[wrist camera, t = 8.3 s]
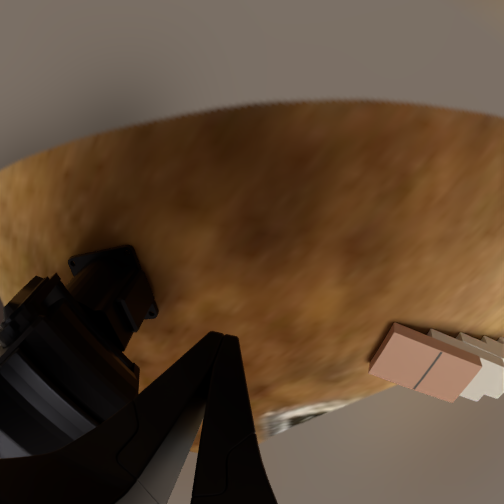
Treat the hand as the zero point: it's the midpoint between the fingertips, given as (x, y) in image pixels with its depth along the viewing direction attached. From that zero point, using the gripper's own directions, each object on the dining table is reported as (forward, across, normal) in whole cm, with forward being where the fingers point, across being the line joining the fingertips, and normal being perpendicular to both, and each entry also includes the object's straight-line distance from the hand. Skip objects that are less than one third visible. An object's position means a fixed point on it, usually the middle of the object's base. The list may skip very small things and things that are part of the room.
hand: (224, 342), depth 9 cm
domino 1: (+12, -12, +11) cm, 20 cm away
